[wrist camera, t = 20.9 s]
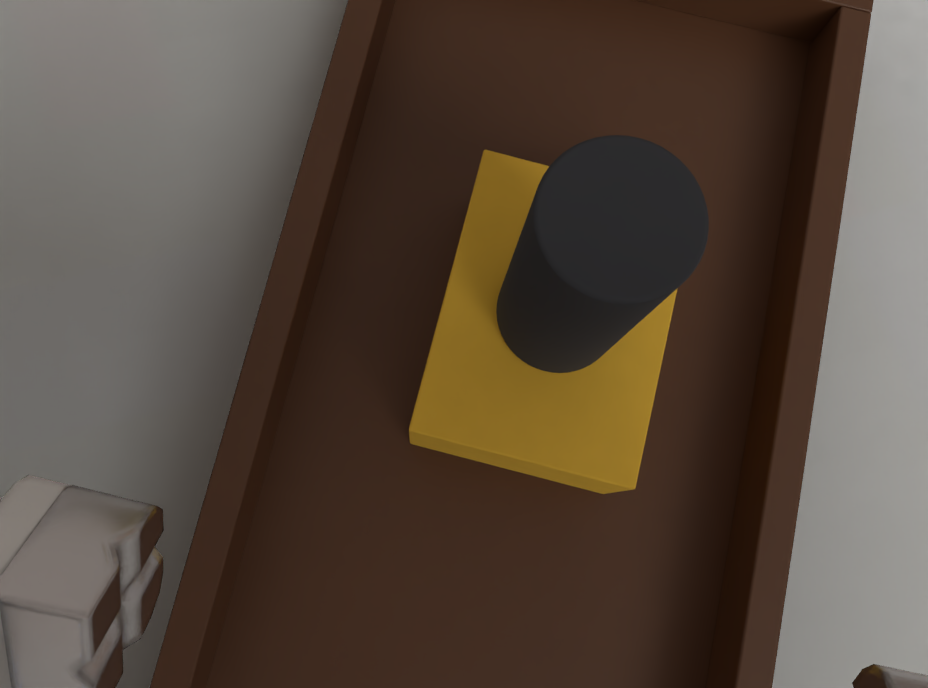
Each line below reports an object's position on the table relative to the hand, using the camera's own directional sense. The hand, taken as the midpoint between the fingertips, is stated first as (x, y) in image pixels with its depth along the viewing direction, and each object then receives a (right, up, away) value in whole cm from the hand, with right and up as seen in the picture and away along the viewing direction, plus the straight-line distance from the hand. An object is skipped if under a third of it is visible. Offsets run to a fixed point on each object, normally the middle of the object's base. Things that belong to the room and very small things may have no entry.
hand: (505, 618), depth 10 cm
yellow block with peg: (+1, +3, +11) cm, 12 cm away
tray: (+1, +1, +12) cm, 12 cm away
